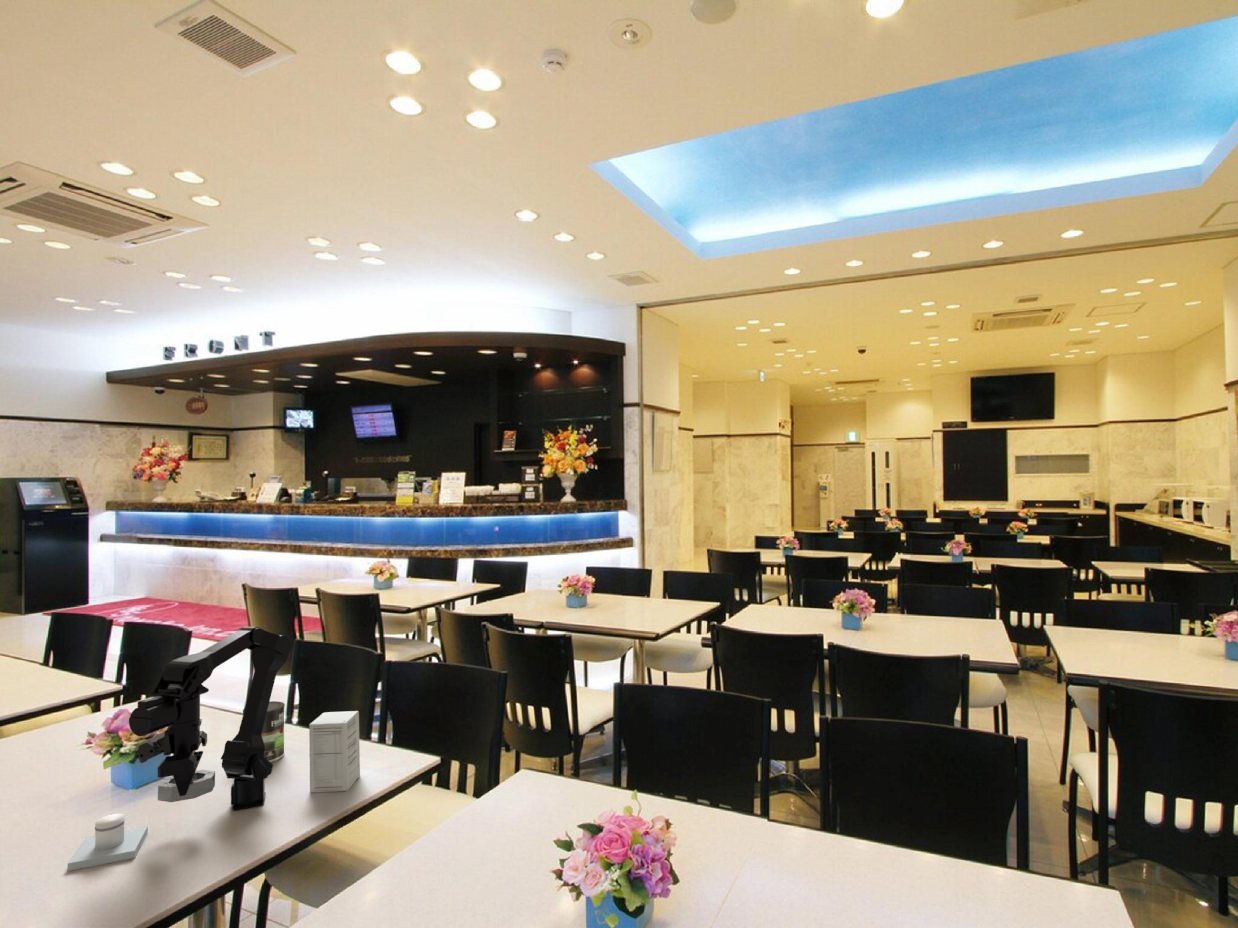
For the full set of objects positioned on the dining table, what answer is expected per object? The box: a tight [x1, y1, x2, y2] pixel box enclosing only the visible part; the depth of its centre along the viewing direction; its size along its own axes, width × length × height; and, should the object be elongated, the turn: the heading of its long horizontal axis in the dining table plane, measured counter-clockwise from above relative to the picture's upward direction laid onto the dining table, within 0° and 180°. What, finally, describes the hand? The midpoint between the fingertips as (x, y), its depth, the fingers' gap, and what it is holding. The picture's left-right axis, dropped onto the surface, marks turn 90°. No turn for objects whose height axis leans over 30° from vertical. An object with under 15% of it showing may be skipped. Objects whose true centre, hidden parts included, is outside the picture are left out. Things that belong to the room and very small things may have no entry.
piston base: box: [67, 813, 149, 872], centre depth 140 cm, size 11×11×6 cm
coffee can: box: [242, 700, 286, 763], centre depth 188 cm, size 10×10×14 cm
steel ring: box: [157, 769, 216, 803], centre depth 148 cm, size 10×10×3 cm
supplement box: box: [308, 710, 361, 793], centre depth 171 cm, size 10×9×17 cm
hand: (183, 793), depth 144 cm, fingers closed on steel ring, 2 cm apart
